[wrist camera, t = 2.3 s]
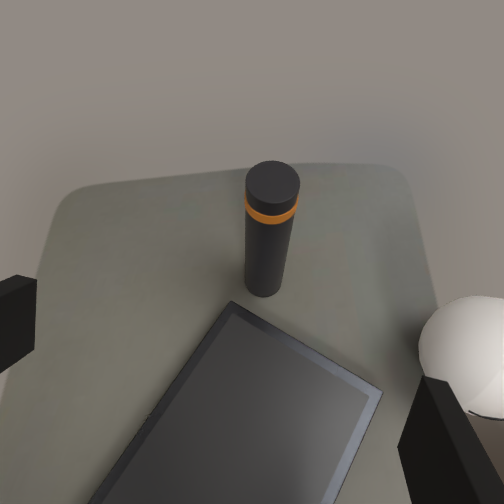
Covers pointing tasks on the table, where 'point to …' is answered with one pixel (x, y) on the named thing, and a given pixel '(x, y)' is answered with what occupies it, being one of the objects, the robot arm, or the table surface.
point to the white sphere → (468, 353)
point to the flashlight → (268, 224)
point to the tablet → (247, 424)
